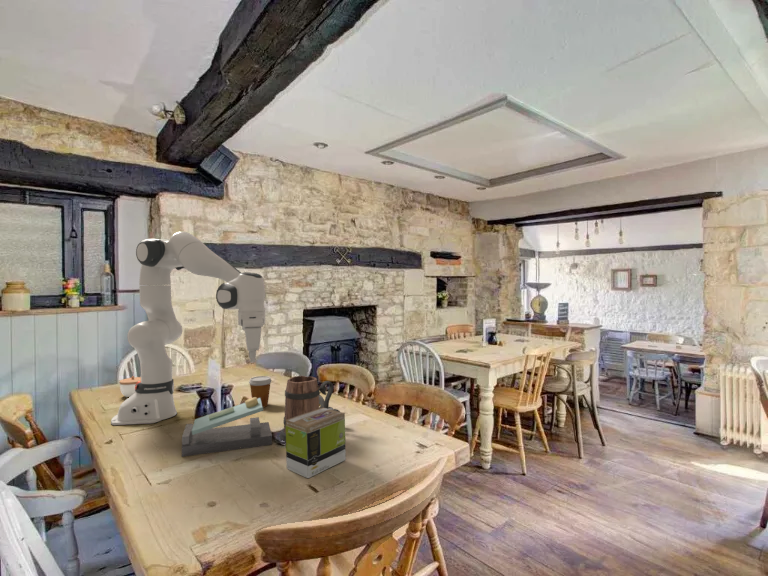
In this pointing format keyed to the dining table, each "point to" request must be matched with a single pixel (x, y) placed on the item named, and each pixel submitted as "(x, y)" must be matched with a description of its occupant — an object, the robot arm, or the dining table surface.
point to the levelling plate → (227, 415)
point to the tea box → (315, 441)
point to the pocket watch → (322, 402)
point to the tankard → (303, 398)
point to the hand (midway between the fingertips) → (252, 359)
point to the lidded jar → (128, 386)
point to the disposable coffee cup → (260, 388)
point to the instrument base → (226, 438)
